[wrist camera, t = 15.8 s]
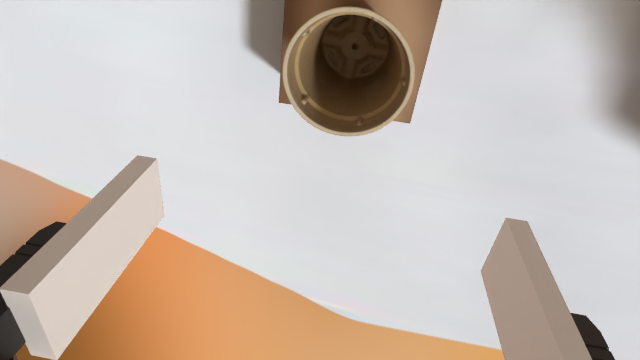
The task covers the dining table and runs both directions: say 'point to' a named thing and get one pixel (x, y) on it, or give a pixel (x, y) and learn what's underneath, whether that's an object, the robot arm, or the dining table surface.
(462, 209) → the dining table surface
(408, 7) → the walnut block
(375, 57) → the flower pot
